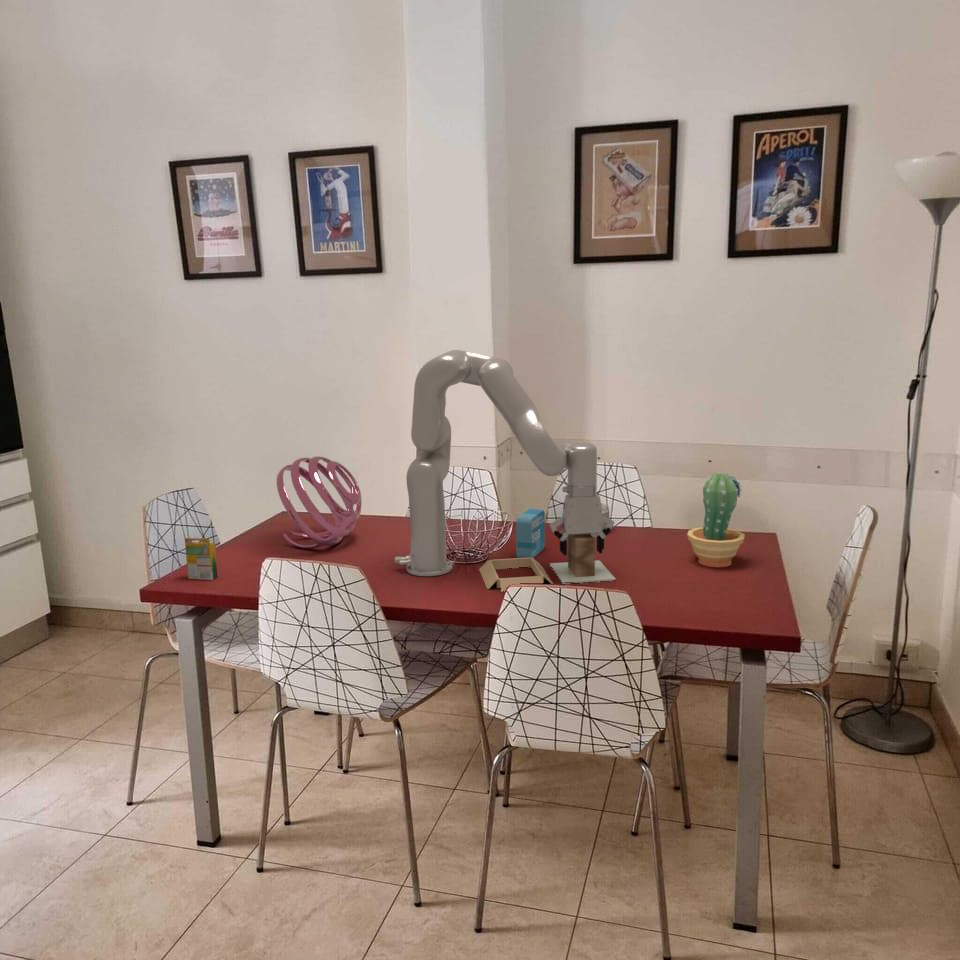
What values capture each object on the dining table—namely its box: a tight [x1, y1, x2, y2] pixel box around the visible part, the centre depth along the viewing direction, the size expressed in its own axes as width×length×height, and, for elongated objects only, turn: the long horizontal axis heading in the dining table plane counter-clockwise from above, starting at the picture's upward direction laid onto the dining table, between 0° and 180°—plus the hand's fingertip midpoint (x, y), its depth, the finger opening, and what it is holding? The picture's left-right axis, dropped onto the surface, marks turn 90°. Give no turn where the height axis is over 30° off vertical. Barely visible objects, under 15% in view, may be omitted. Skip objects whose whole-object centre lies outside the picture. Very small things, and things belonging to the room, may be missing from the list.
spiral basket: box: [276, 455, 363, 550], centre depth 266 cm, size 28×28×27 cm
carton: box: [478, 557, 554, 593], centre depth 234 cm, size 17×21×3 cm
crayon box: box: [184, 537, 219, 581], centre depth 238 cm, size 7×3×12 cm, turn 80°
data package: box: [515, 508, 546, 559], centre depth 253 cm, size 12×4×12 cm, turn 157°
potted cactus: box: [686, 471, 745, 568], centre depth 240 cm, size 15×15×25 cm
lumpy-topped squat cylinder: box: [591, 502, 610, 538], centre depth 274 cm, size 10×13×9 cm
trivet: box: [549, 559, 616, 585], centre depth 236 cm, size 14×16×1 cm
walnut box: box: [567, 534, 596, 577], centre depth 235 cm, size 5×9×10 cm, turn 8°
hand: (581, 553), depth 235 cm, fingers open, 9 cm apart
